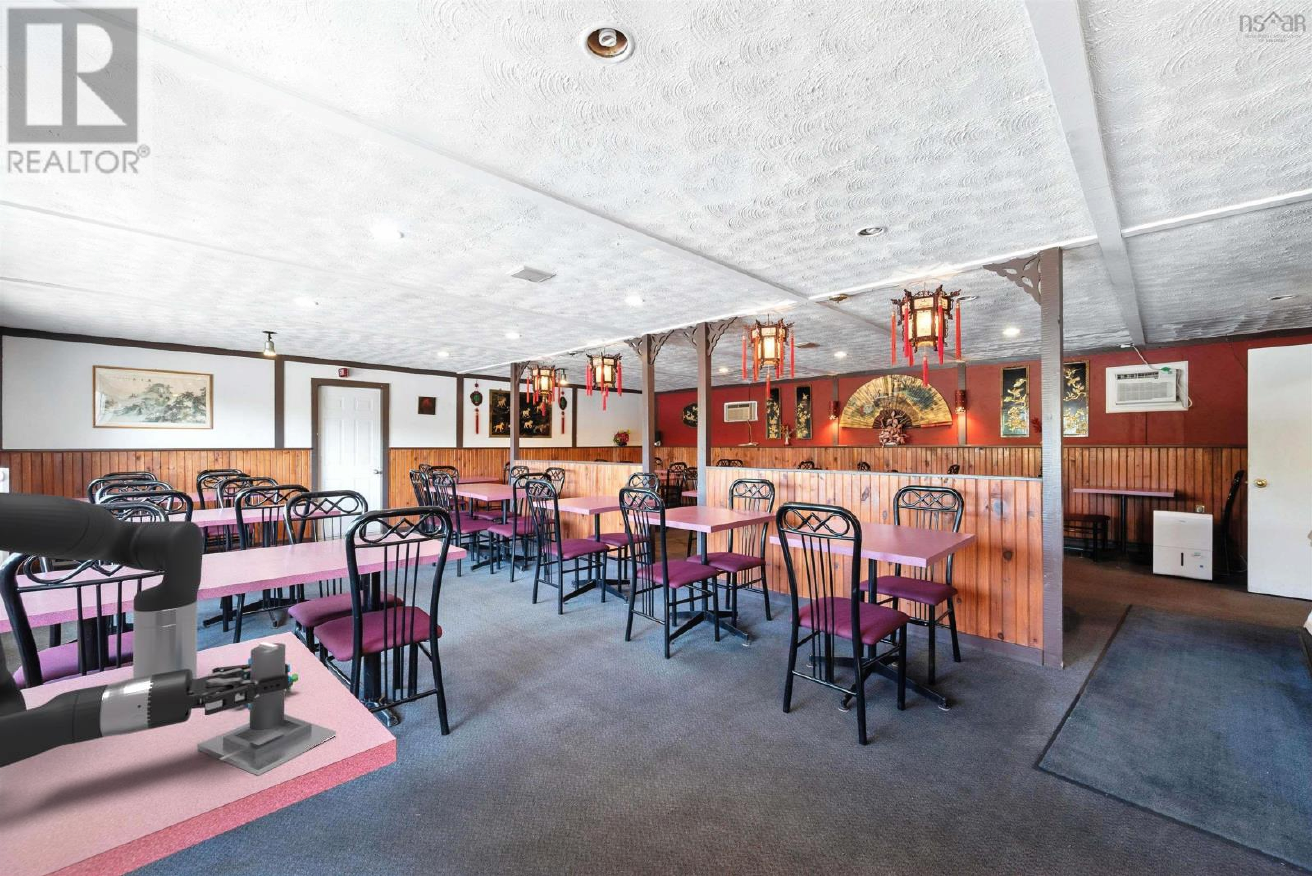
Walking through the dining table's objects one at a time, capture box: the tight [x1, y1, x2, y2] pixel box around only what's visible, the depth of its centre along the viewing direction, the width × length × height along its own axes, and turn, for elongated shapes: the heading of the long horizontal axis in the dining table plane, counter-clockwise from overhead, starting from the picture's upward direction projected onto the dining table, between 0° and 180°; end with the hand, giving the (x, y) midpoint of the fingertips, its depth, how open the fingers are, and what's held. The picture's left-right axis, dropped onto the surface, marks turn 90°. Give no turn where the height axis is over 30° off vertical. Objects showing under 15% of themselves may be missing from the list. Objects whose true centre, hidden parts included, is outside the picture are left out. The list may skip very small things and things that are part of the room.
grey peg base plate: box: [196, 713, 337, 776], centre depth 90 cm, size 16×13×2 cm
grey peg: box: [249, 641, 286, 730], centre depth 90 cm, size 5×5×13 cm
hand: (287, 675), depth 91 cm, fingers closed on grey peg, 4 cm apart
